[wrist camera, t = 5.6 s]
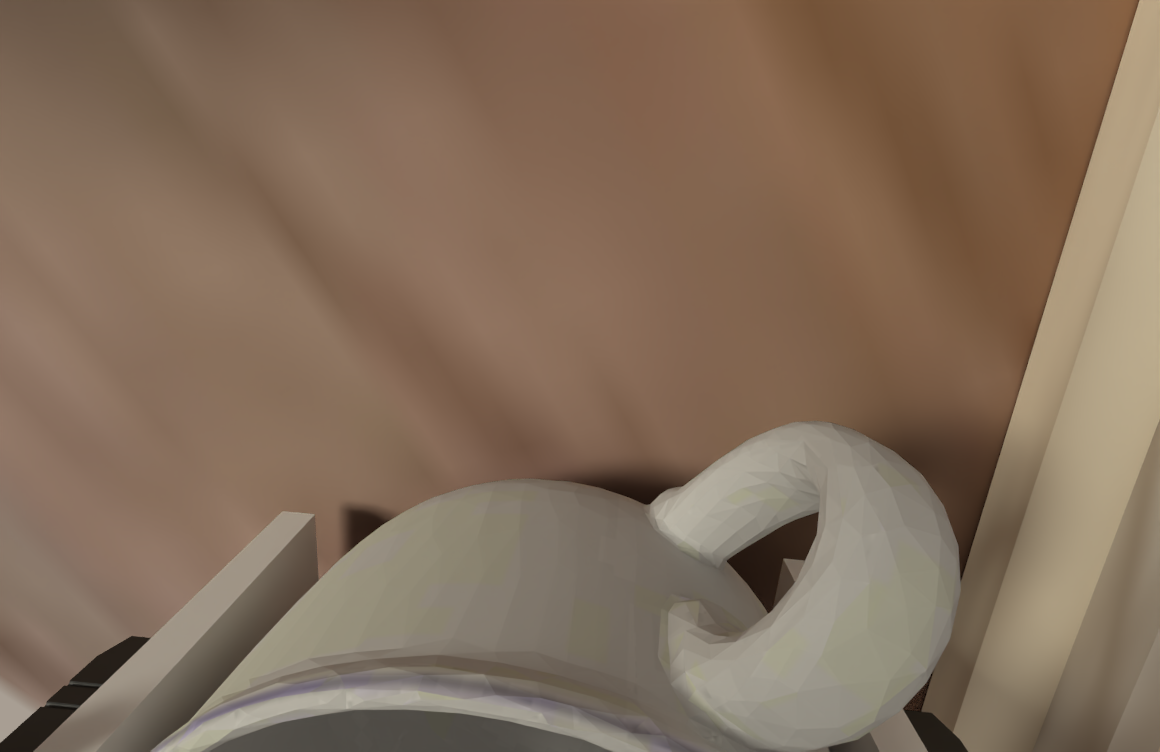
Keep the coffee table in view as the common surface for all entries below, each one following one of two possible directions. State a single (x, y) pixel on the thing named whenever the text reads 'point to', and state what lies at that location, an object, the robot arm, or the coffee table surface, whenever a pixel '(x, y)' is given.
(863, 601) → the teacup
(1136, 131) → the carrier board
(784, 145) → the coffee table surface
